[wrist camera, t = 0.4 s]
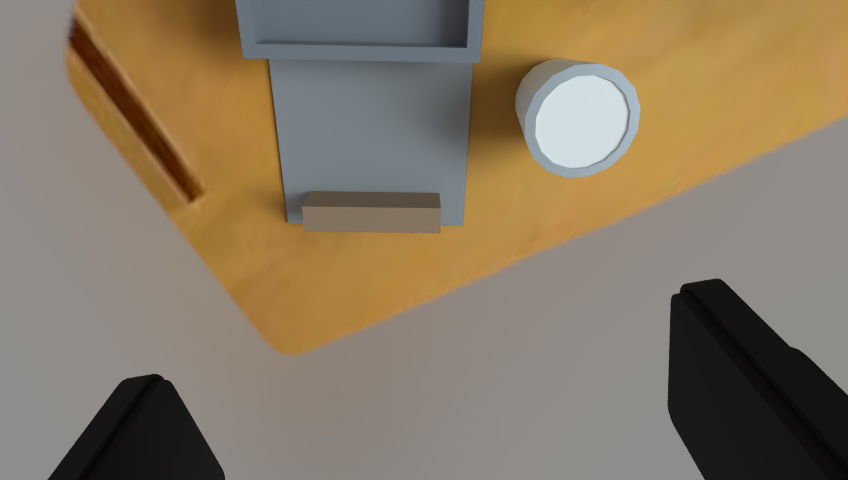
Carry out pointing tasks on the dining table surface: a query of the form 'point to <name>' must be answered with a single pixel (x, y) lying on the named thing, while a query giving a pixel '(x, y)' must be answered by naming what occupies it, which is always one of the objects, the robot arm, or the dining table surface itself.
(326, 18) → the cart
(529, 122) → the white tapered cup
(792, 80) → the dining table surface
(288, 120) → the track
